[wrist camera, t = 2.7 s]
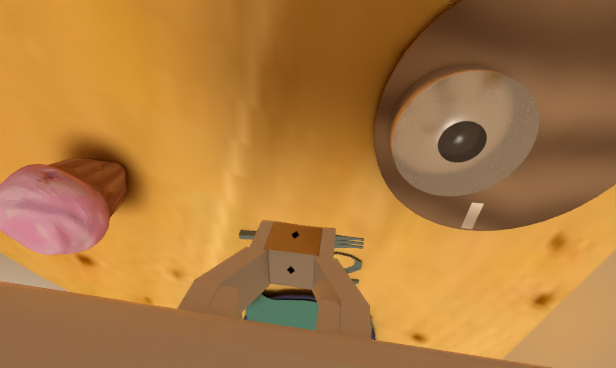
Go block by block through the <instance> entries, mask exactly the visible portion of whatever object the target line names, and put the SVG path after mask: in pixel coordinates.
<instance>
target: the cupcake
mask: <svg viewBox="0 0 616 368" xmlns="http://www.w3.org/2000/svg"><path fill="white" fill-rule="evenodd" d="M125 179H126V171H125V169H124V168H123V166H122V165H120V164H118V163H116V162H108V161H98V160H95V159H69V160H64V161H61V162H57V163H53V164H50V165H43V164H33V165H27V166H25V167H23V168H20V169H19V170H17V171H16V172H14V173H13V174H11V175H10V176H9V177H8V178H7V179H6V180H5V181H4V182H3V183H2V184H1V185H0V230H1V231H2V232H3V233H5V234H6V235H7V236H9V237H11V238H13V239H14V240H16V241H18V242H19V243H20V244H22V245H23V246H25V247H27V248H29V249H31V250H33V251H35V252H38V253H41V254H46V255H56V254H71V253H76V252H81V251H84V250H87V249H90V248H91V247H93V246H94V245H96V244H97V243H98V242H99V241H100V240H101V239H102V238H103V237H104V235H105V233H106V231H107V230H108V227H109V219H110V217H111V216H112V215H113V214H114V212H115V211H116V210H117V209H118V208H119V206H120V205H121V204H122V203H123V201H124V200H125V198H126V196H127V191H126V188H127V185H126V180H125Z"/></svg>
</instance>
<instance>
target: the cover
mask: <svg viewBox="0 0 616 368" xmlns="http://www.w3.org/2000/svg"><path fill="white" fill-rule="evenodd" d="M538 128H539V113H538V108H537V105H536V103H535V100H534V98H533V97H532V95H531V94H530V92H529V91H528V90H527V89H526V88H525V87H524V86H523V85H522V84H520V83H519V82H517V81H516V80H514V79H512V78H510V77H507V76H505V75H503V74H501V73H499V72H496V71H494V70H492V69H490V68H487V67H485V66H481V65H477V64H454V65H449V66H445V67H441V68H439V69H436V70H434V71H431V72H430V73H428V74H426V75H424V76H423V77H421V78H420V79H418V80H417V81H415V82H414V83H413V84H412V85H411V86H410V87H409V88H408V89H407V90H406V91H405V92H404V93H403V94H402V96H401V97H400V98H399V100H398V101H397V103H396V105H395V107H394V109H393V111H392V114H391V117H390V121H389V127H388V136H389V142H390V146H391V150H392V154H393V158H394V161H395V164H396V167H397V169H398V170H399V172H400V174H401V175H402V176H403V178H404V179H405V180H406V181H407V182H408V183H410V184H411V185H412V186H414V187H415V188H417V189H419V190H421V191H424V192H426V193H429V194H433V195H439V196H461V195H467V194H471V193H475V192H478V191H481V190H484V189H486V188H489V187H491V186H493V185H495V184H496V183H498V182H500V181H501V180H503V179H504V178H506V177H507V176H509V175H510V174H511V173H512V172H513V171H514V170H516V168H517V167H518V166H519V165H520V164H521V163H522V162H523V161H524V159H525V158H526V157H527V156H528V154H529V152H530V151H531V149H532V147H533V145H534V142H535V140H536V137H537V133H538Z"/></svg>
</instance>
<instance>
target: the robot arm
mask: <svg viewBox="0 0 616 368" xmlns="http://www.w3.org/2000/svg"><path fill="white" fill-rule="evenodd" d="M335 233H336V229H335V228H327V227H315V226H306V225H297V224H290V223H283V222H276V221H275V222H274V221H267V220H263V221H262V222H261V223H260V225H259V228H258V230H257V232H256V234H255V236H254V239H253V241H252V243H251V245H250V247H245V248H244V249H242V250H241V251H239V252H238V253H236V254H234V255H233V256H231V257H230V258H228V259H227V260H225V261H224V262H222V263H220V264H219V265H217V266H216V267H214V268H213V269H211V270H209V271H208V272H206V273H205V274H203V275H202V276H200V277H199V278H197V279H195V280H194V282H193V284H192V285H191V287H190V289H189V290H188V292H187V293H186V295H185V297H184V298H183V300H182V302H181V303H180V305H179V307H178V308H177V309H174V308H168V307H162V306H155V305H149V304H142V303H136V302H130V301H123V300H117V299H111V298H104V297H98V296H91V295H85V294H79V293H72V292H66V291H59V290H53V289H46V288H40V287H33V286H27V285H21V284H14V283H7V282H2V281H0V368H551V367H544V366H537V365H532V364H525V363H519V362H513V361H506V360H500V359H494V358H487V357H481V356H474V355H468V354H462V353H455V352H449V351H443V350H436V349H430V348H424V347H417V346H411V345H404V344H398V343H392V342H385V341H379V340H373V339H371V322H370V305H369V304H368V303H367V301H366V300H365V298H364V297H363V295H362V294H361V292H360V291H359V290H358V288H357V287H356V285H355V284H354V282H353V281H352V280H351V278H350V277H349V275H348V274H347V272H346V271H345V270H344V268H343V267H342V265H341V264H340V262H339V261H338V259H335V258H333V256H334V245H335ZM269 284H277V285H285V286H293V287H299V288H305V289H311V290H312V291H313V294H314V296H315V298H316V300H317V303H318V305H319V309H318V316H317V324H316V331H315V330H308V329H302V328H296V327H289V326H283V325H276V324H270V323H264V322H257V321H251V320H245V319H242V313H241V312H242V311H243V310H245V309H246V308H247V307H248V306H249V305H250V304H251V303H252V302H253V301H254V300H255V299H256V298H257V297H258V296H259V295H260V294H261V293H262V292H263V291H264V290H265V289H266V288H267V287H268V286H269Z"/></svg>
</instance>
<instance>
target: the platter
mask: <svg viewBox="0 0 616 368" xmlns="http://www.w3.org/2000/svg"><path fill="white" fill-rule="evenodd" d="M454 64H477V65H481V66H485V67H487V68H490V69H492V70H494V71H496V72H499V73H501V74H503V75H505V76H507V77H510V78H512V79H514V80H516V81H517V82H519V83H520V84H522V85H523V86H524V87H525V88H526V89H527V90H528V91H529V92H530V94H531V95H532V97H533V98H534V100H535V103H536V105H537V108H538V113H539V128H538V133H537V137H536V140H535V142H534V145H533V147H532V149H531V151H530V152H529V154H528V156H527V157H526V158H525V159H524V161H523V162H522V163H521V164H520V165H519V166H518V167H517V168H516V170H514V171H513V172H512V173H511V174H510V175H509V176H507V177H506V178H504V179H503V180H501V181H500V182H498V183H496V184H495V185H493V186H491V187H489V188H486V189H484V190H481V191H478V192H475V193H471V194H467V195H461V196H439V195H433V194H429V193H426V192H424V191H421V190H419V189H417V188H415V187H414V186H412V185H411V184H410V183H408V182H407V181H406V180H405V179H404V178H403V176H402V175H401V174H400V172H399V170H398V169H397V167H396V164H395V161H394V158H393V154H392V150H391V146H390V142H389V136H388V127H389V121H390V117H391V114H392V111H393V109H394V107H395V105H396V103H397V101H398V100H399V98H400V97H401V96H402V94H403V93H404V92H405V91H406V90H407V89H408V88H409V87H410V86H411V85H412V84H413V83H414V82H415V81H417V80H418V79H420V78H421V77H423V76H424V75H426V74H428V73H430V72H431V71H434V70H436V69H439V68H441V67H445V66H449V65H454ZM374 141H375V151H376V156H377V162H378V166H379V168H380V171H381V174H382V177H383V178H384V180H385V182H386V184H387V186H388V187H389V189H390V190H391V191H392V193H393V194H394V195H395V197H396V198H397V199H398V200H399V201H400V202H401V203H403V204H404V205H405V206H406V207H407V208H409V209H410V210H411V211H413V212H414V213H416V214H417V215H419V216H421V217H423V218H425V219H427V220H429V221H432V222H434V223H437V224H440V225H444V226H447V227H451V228H457V229H463V230H475V231H494V230H504V229H512V228H517V227H523V226H528V225H531V224H535V223H538V222H542V221H545V220H548V219H551V218H554V217H556V216H559V215H562V214H564V213H566V212H568V211H571V210H573V209H575V208H577V207H579V206H581V205H583V204H585V203H587V202H588V201H590V200H592V199H594V198H596V197H597V196H599V195H600V194H602V193H603V192H605V191H606V190H608V189H609V188H611V187H612V186H614V185H615V184H616V0H460V1H459V2H457V3H456V4H454V5H453V6H452V7H450V8H449V9H448V10H447V11H445V12H444V13H443V14H441V15H440V16H439V17H437V18H436V19H435V20H434V21H433V22H432V23H431V24H430V25H429V26H428V27H427V28H426V29H425V30H424V31H423V32H422V33H421V34H420V35H419V36H418V37H417V38H416V39H415V41H414V42H413V43H412V44H411V45H410V46H409V48H408V49H407V50H406V51H405V53H404V54H403V56H402V57H401V59H400V60H399V62H398V63H397V65H396V66H395V68H394V69H393V71H392V73H391V75H390V77H389V79H388V81H387V83H386V85H385V88H384V90H383V93H382V96H381V98H380V101H379V105H378V109H377V113H376V118H375V128H374Z"/></svg>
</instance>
